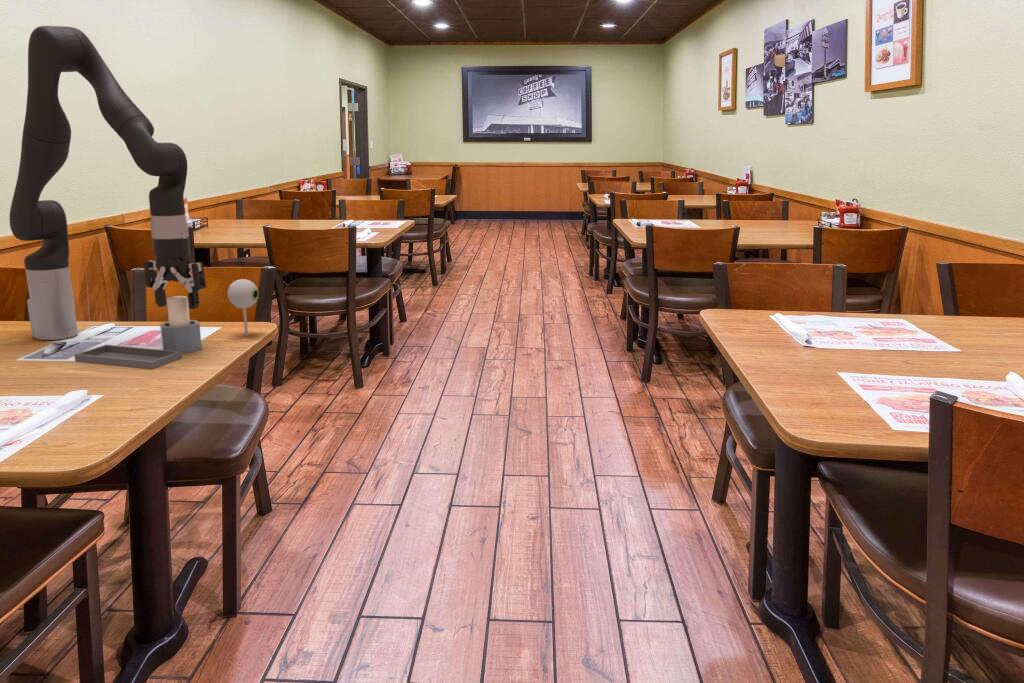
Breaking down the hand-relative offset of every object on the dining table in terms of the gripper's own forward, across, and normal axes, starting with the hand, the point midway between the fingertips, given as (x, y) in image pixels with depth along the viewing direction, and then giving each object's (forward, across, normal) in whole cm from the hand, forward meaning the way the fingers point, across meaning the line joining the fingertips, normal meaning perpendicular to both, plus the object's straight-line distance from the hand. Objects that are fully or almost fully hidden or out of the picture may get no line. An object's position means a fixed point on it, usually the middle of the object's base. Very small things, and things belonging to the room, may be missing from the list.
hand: (178, 307), depth 175 cm
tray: (+11, -5, -11) cm, 16 cm away
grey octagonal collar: (+11, 0, 0) cm, 11 cm away
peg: (+10, 0, 0) cm, 10 cm away
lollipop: (+11, +6, +16) cm, 20 cm away
